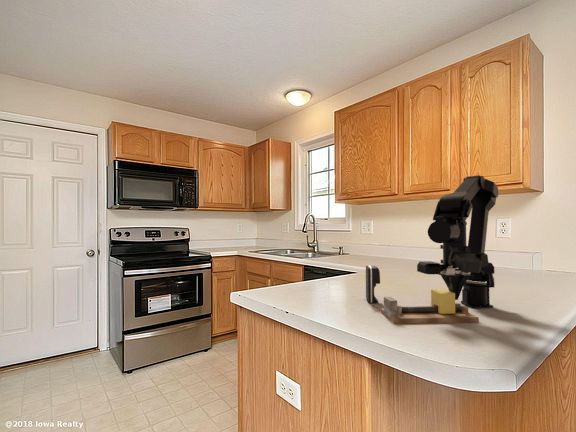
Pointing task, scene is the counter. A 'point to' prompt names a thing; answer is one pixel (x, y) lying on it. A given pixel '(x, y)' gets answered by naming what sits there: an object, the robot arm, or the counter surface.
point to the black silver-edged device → (371, 282)
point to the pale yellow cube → (443, 301)
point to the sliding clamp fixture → (424, 313)
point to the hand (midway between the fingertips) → (455, 299)
